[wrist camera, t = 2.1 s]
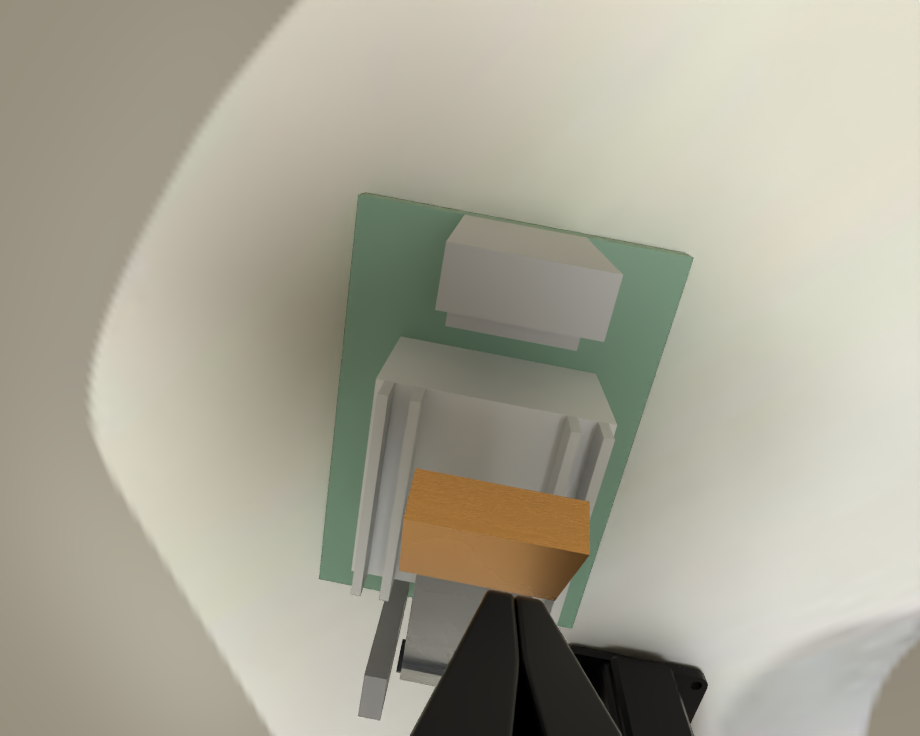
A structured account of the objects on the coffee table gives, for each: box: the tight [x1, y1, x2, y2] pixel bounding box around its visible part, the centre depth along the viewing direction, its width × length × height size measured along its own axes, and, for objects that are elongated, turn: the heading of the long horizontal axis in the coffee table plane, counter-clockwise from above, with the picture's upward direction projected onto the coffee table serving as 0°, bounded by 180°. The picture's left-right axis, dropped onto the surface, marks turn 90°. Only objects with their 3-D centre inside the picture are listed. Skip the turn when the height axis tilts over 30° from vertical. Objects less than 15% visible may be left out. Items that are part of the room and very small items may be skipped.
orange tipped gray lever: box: [396, 468, 590, 686], centre depth 14 cm, size 12×3×1 cm, turn 172°
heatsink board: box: [319, 193, 693, 720], centre depth 18 cm, size 16×11×7 cm
